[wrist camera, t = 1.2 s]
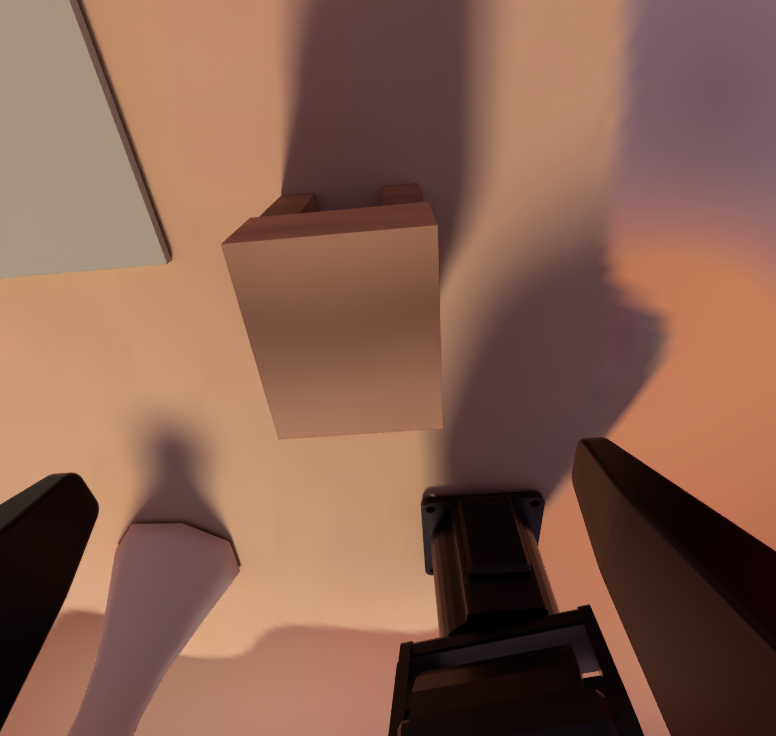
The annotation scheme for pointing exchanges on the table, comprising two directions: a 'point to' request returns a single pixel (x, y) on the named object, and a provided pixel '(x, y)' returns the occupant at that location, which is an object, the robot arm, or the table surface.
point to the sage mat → (65, 153)
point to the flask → (150, 619)
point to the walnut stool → (343, 313)
